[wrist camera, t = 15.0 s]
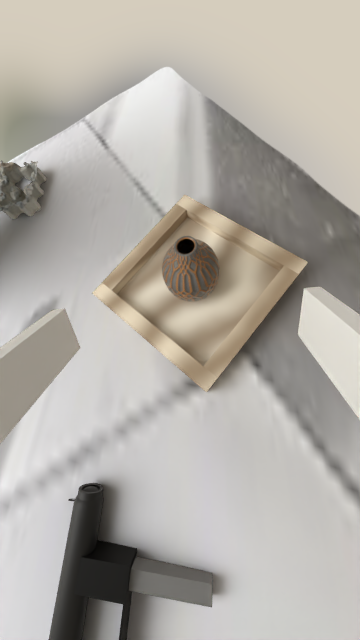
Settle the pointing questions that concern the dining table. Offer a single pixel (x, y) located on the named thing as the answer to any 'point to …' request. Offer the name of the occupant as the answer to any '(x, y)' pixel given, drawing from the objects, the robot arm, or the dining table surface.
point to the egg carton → (3, 189)
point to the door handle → (113, 573)
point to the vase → (190, 269)
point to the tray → (211, 312)
